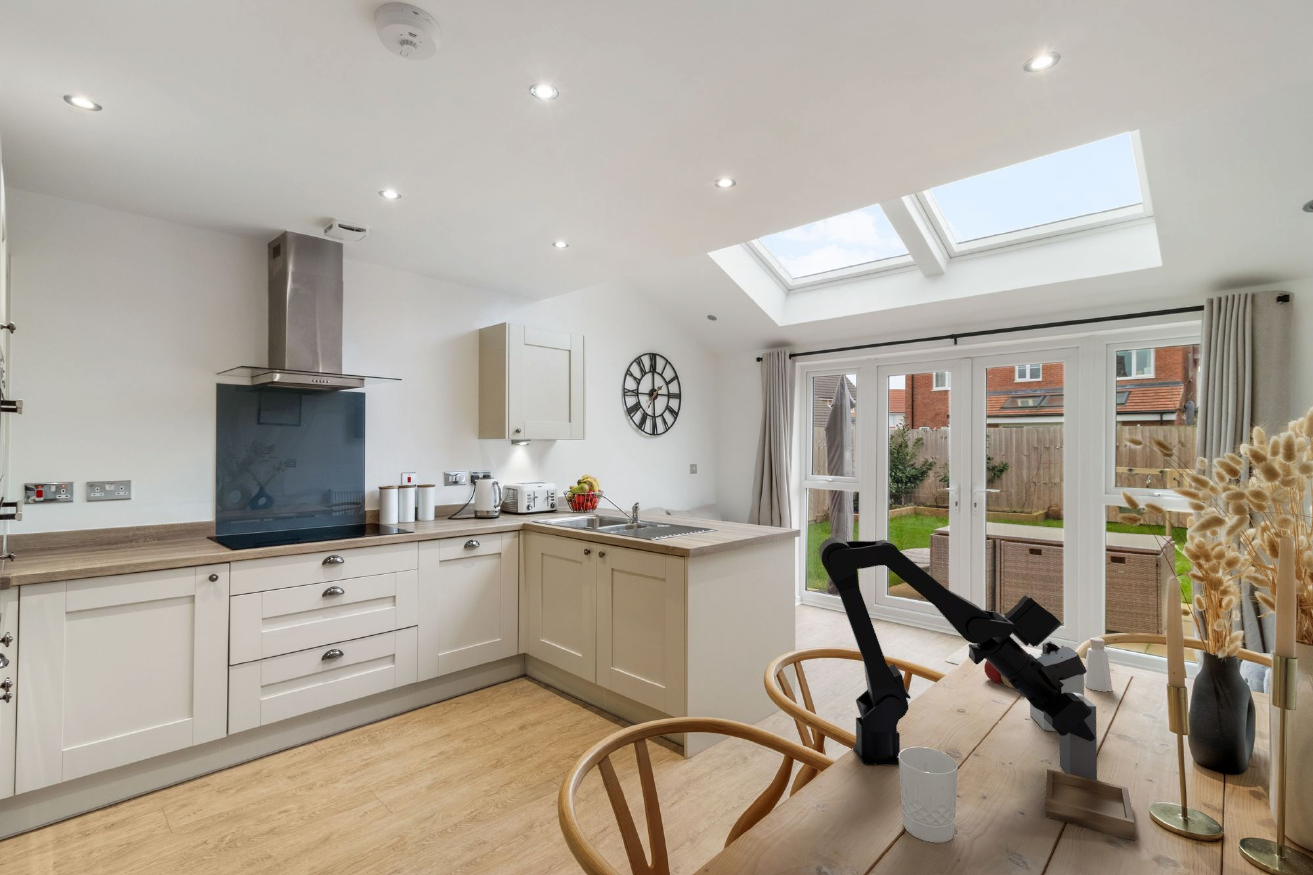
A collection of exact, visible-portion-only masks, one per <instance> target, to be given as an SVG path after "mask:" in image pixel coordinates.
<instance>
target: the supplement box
mask: <svg viewBox="0 0 1313 875" xmlns="http://www.w3.org/2000/svg"><path fill="white" fill-rule="evenodd" d="M1030 654H1031V653H1030ZM1031 655H1032V656H1033V657H1034V658H1035V659H1036V658H1039V657H1041V654H1033V653H1032V654H1031ZM1084 676H1085V674H1083V675H1076V676H1074V677H1071V678H1068V679H1065V680H1060V681H1061V682H1062V683H1063V684H1064V686H1063V687H1062V688H1061V689H1062V693H1064V692H1065V693H1080V694H1082V695H1084V696H1085V685H1084ZM1029 715H1030V716H1031V718H1032V719H1033V720H1034V721H1036V723H1037V724H1038V725H1039V726H1040V727H1041V729H1042V730H1044V731H1049V732H1050V731H1051V732H1057V731H1056V730H1055V729H1054V728H1053V727H1052V726H1051V725H1050V724H1049V723H1048V722H1047V721H1046V720H1045V719H1044V712H1042V711H1040V710H1038V709H1036V708H1035V707H1034V706H1033V705H1032V704H1031V703H1030V702H1029Z"/></svg>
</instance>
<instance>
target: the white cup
mask: <svg viewBox="0 0 1313 875" xmlns="http://www.w3.org/2000/svg"><path fill="white" fill-rule="evenodd" d="M897 757H898V758H899V765H898V770H899V771H898V772H899V775H898V776H899V790H900V801H901V802H900V803H901V809H902V824H903V827H904V828H905V830H906V831H907V833H909V834H910V835H911V836H913V837H914V838H917V839H920V840H921V841H924V842H928V841H929V843H933V842H934V843H935V844H939V843H940V844H941V843H946V842H948V841H950V840H952V839H953V837H954V834H955V818H956V814H957V813H956V810H957V809H956V807H957V797H958V796H957V795H958V794H957V793H958V792H957V791H958V768H959V766H958V762H957V761H956V760H955V759H954V758H953V757H952V756H950V755H949V754H948V753H946V752H944V751H941V750H938V749H935V748H932V747H925V746H910V747H909V746H908V747H905V748H903V749H901V750H900V752H899V754H898V756H897ZM934 843H933V844H934Z"/></svg>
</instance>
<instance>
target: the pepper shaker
mask: <svg viewBox="0 0 1313 875" xmlns="http://www.w3.org/2000/svg"><path fill="white" fill-rule="evenodd" d="M1105 642H1106V641H1105V639H1103V638H1101V637H1090V638H1089V645H1090V646H1089V647H1088V648H1087V650H1086V659H1085V668H1086V670H1087V672H1086V673H1085V674H1084V688H1086V687H1087V688H1086V689H1089V690H1091V689H1092V691H1094V690H1098V691H1097V692H1100V691H1103V692H1104V693H1108V692H1107V691H1109V692H1111V691H1110V690H1112V691H1113V684H1112V678H1111V670H1110V669H1111V668H1110V664H1109V655H1108V651H1107V650H1105V647H1106V646H1105ZM1103 692H1102V693H1103Z"/></svg>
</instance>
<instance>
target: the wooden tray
mask: <svg viewBox="0 0 1313 875" xmlns="http://www.w3.org/2000/svg"><path fill="white" fill-rule="evenodd" d="M1045 779H1046V782H1045V818H1049V819H1052V820H1056V821H1060V822H1062V823H1067V824H1071V825H1074V826H1079V827H1082V828H1085V829H1090V830H1093V831H1097V832H1101V833H1105V834H1108V835H1112V836H1115V837H1118V838H1119V837H1120V838H1123V839H1127V840H1130V841H1136V829H1135V828H1136V822H1135V818H1134V813H1133V807H1132V803H1131V797H1130V793H1129V787H1127V786H1122V785H1119V784H1114V783H1111V782H1110V783H1109V782H1106V781H1105V782H1104V781H1101V780H1098V779H1088V778H1084V777H1080V776H1075V775H1071V774H1067V773H1066V772H1061V771H1057V770H1055V769H1054V770H1053V769H1049V768H1046V778H1045Z"/></svg>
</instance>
